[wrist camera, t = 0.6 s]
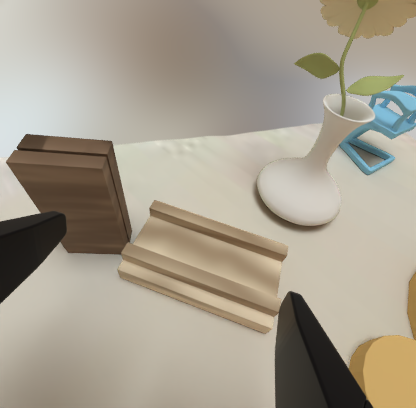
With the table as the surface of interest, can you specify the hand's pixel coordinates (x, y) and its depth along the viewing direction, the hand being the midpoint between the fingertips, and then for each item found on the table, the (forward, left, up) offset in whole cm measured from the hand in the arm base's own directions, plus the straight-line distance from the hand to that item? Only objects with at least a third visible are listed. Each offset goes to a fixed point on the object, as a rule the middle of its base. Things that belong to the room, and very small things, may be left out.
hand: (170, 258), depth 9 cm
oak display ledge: (+8, +2, -16) cm, 18 cm away
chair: (+42, -7, -16) cm, 45 cm away
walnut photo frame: (+3, +12, -16) cm, 20 cm away
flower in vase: (+24, -1, -16) cm, 29 cm away
